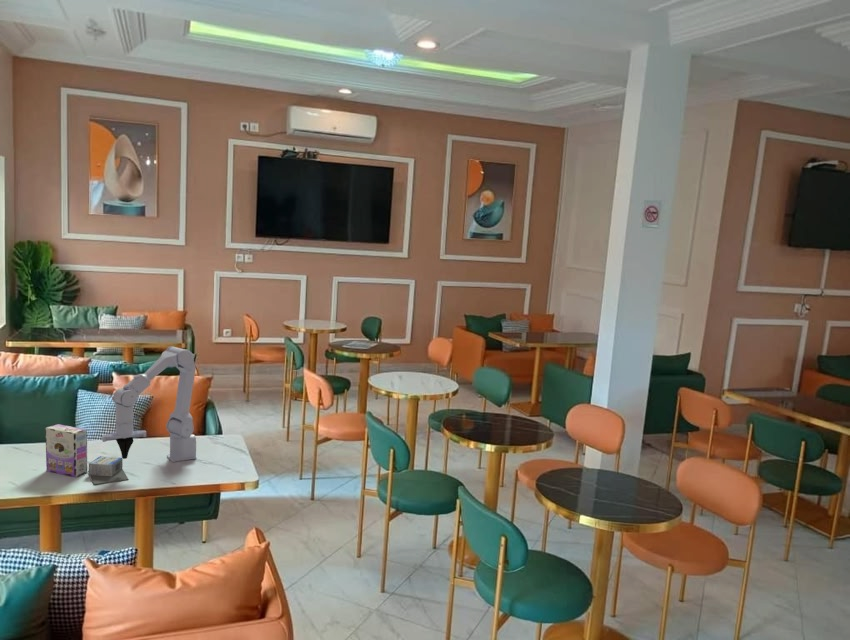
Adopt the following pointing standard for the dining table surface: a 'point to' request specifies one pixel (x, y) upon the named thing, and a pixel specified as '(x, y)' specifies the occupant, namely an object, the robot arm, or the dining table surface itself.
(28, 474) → the dining table surface
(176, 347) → the robot arm
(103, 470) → the medicine box
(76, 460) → the candy box
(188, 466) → the dining table surface
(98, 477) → the mat
